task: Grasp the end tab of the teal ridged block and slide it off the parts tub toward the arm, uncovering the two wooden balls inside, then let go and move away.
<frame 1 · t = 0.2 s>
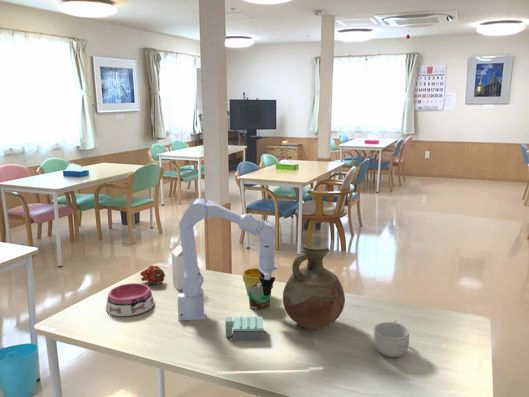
hand: (266, 290, 165), 10 cm above the table, tool pointing down, fingers open, 7 cm apart
teacup: (391, 350, 145), on the table
food container: (263, 307, 175), on the table
beech ball: (242, 335, 152), point 1 cm above the table, touching tub
plant pot: (255, 295, 186), on the table
walnut ball: (254, 334, 153), point 1 cm above the table, touching tub
jug: (312, 325, 160), on the table
dog bowl: (130, 307, 176), on the table
milk carton: (183, 286, 195), on the table
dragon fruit: (152, 283, 198), on the table
teal ridged block: (244, 326, 152), point 4 cm above the table, slide at 0.0 cm
tub: (248, 336, 153), on the table
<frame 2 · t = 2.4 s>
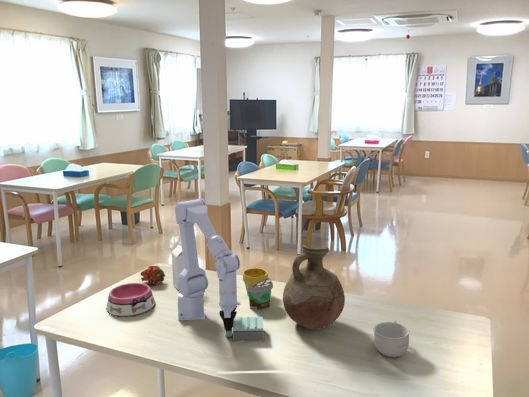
hand: (228, 327, 152), 3 cm above the table, tool pointing down, fingers closed on teal ridged block, 3 cm apart
teal ridged block: (244, 326, 152), point 4 cm above the table, slide at 0.0 cm, touching gripper
everything else where it was.
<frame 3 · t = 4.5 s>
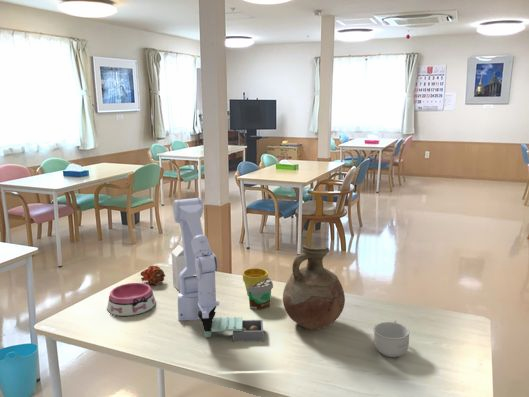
hand: (208, 328, 152), 3 cm above the table, tool pointing down, fingers closed on teal ridged block, 3 cm apart
teal ridged block: (223, 326, 152), point 4 cm above the table, slide at 6.9 cm, touching gripper
everything else where it was.
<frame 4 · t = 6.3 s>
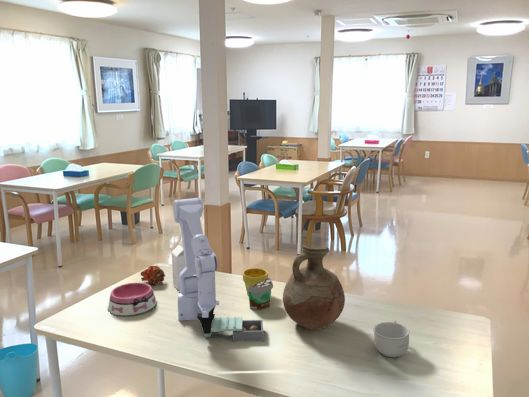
hand: (207, 327, 152), 4 cm above the table, tool pointing down, fingers open, 7 cm apart
teal ridged block: (223, 326, 152), point 4 cm above the table, slide at 7.0 cm
everything else where it was.
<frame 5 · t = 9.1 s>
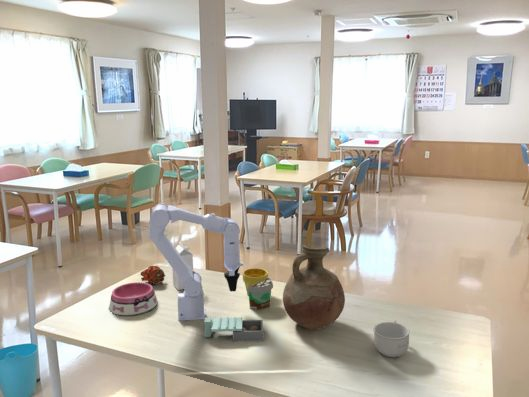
hand: (233, 286, 168), 10 cm above the table, tool pointing down, fingers open, 7 cm apart
at the end: teal ridged block slide at 7.0 cm; the gripper is holding nothing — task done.
